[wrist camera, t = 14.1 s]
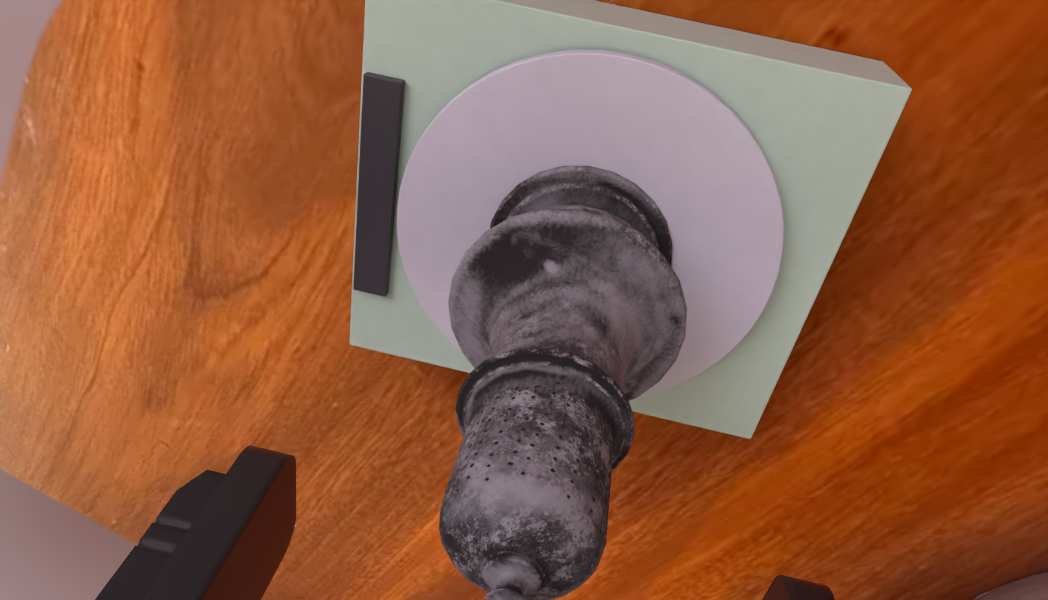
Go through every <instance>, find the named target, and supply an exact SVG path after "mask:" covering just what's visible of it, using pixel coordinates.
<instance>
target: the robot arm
mask: <svg viewBox="0 0 1048 600" xmlns="http://www.w3.org/2000/svg"><path fill="white" fill-rule="evenodd" d="M295 521H296V460H295V457H294V456H293V455H288V454H284V453H280V452H276V451H272V450H268V449H263V448H259V447H255V446H247V447H246V448H245V449H244V450H243V451H242V452H241V453H240V455H239V456H238V458H237V459H236V461H235V462H234V464H233V465H232V466H231V468H230V469H229V471H228V472H227V474H222V473H218V472H214V471H210V470H206V471H205V472H203V473H202V474H200V475H199V476H197V477H196V478H194V479H193V480H191V481H190V482H189V483H187V484H186V485H184V486H183V487H181V488H180V489H178V490H177V491H176V492H175V494H174V495H173V496H172V498H171V499H170V500H169V502H168V503H167V504H166V506H165V507H164V508H163V510H162V511H161V512H160V514H159V515H158V516H157V519H156V522H155V523H152V524H151V526H150V527H149V528H148V530H147V531H146V532H145V534H144V535H143V536H142V538H141V539H140V542H139V545H138V546H135V547H134V548H133V550H132V551H131V552H130V554H129V555H128V556H127V558H126V559H125V561H124V562H123V563H122V564H121V566H120V567H119V568H118V570H117V571H116V573H115V574H114V575H113V576H112V578H111V579H110V580H109V582H108V583H107V584H106V586H105V587H104V588H103V590H102V591H101V593H100V594H99V595H98V596H97V598H96V599H95V600H261V598H262V597H263V595H264V593H265V591H266V589H267V587H268V585H269V583H270V581H271V580H272V578H273V576H274V574H275V572H276V570H277V568H278V566H279V564H280V562H281V561H282V559H283V557H284V555H285V553H286V551H287V548H288V546H289V543H290V541H291V538H292V534H293V531H294V526H295ZM763 600H834V596H833V594H832V591H831V590H830V588H829V587H827V586H825V585H821V584H817V583H813V582H809V581H805V580H800V579H796V578H792V577H788V576H784V575H778V576H777V577H776V578H775V579H774V580H773V582H772V584H771V585H770V587H769V589H768V591H767V593H766V594H765V596H764V598H763Z"/></svg>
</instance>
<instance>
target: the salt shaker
mask: <svg viewBox="0 0 1048 600" xmlns="http://www.w3.org/2000/svg"><path fill="white" fill-rule="evenodd" d="M671 262H672V240H671V237H670V233H669V229H668V225H667V221H666V220H665V218H664V216H663V215H662V213H661V211H660V210H659V208H658V206H657V205H656V203H655V201H654V200H653V199H652V198H651V197H650V196H648V195H647V194H646V193H645V192H644V191H643V190H642V189H641V188H640V187H639V186H638V185H637V184H635V183H633V182H632V181H630V180H628V179H626V178H624V177H622V176H620V175H619V174H617V173H615V172H612V171H608V170H604V169H600V168H596V167H592V166H560V167H557V168H553V169H549V170H545V171H541V172H538V173H537V174H535V175H533V176H531V177H530V178H528V179H526V180H524V181H523V182H521V183H519V184H518V185H517V186H516V187H515V188H514V189H513V190H512V191H511V192H510V193H509V194H508V195H507V196H506V197H505V198H504V199H503V200H502V202H501V204H500V205H499V207H498V209H497V211H496V213H495V215H494V217H493V219H492V221H491V225H490V229H489V230H487V231H485V232H484V233H483V234H482V235H481V237H480V238H479V239H478V240H477V241H476V242H475V243H474V244H473V245H472V246H471V247H470V248H469V249H468V250H467V251H466V252H465V254H464V256H463V258H462V260H461V261H460V263H459V265H458V267H457V269H456V271H455V273H454V275H453V277H452V282H451V288H450V294H449V300H448V306H449V313H450V321H451V328H452V331H453V333H454V335H455V337H456V340H457V342H458V344H459V346H460V349H461V351H462V353H463V354H464V355H465V357H466V358H467V359H468V360H469V362H470V363H471V364H472V365H473V367H474V368H475V369H474V370H473V371H471V372H470V373H469V375H468V376H467V378H466V380H465V381H464V383H463V385H462V386H461V388H460V390H459V394H458V399H457V405H456V414H457V420H458V426H459V428H460V431H461V433H462V435H463V437H464V438H463V441H462V444H461V447H460V450H459V453H458V456H457V459H456V462H455V465H454V468H453V471H452V474H451V477H450V480H449V483H448V486H447V489H446V492H445V495H444V498H443V501H442V506H441V512H440V523H439V530H440V535H441V540H442V544H443V546H444V548H445V549H446V551H447V553H448V555H449V557H450V559H451V561H452V562H453V564H454V566H455V567H456V568H457V569H458V570H459V572H460V573H461V574H462V575H463V576H464V577H465V578H466V579H468V580H469V581H471V582H472V583H474V584H475V585H477V586H478V587H480V588H482V589H484V590H486V591H488V592H489V593H487V594H486V598H485V600H551V599H554V598H558V597H562V596H564V595H566V594H568V593H570V592H571V591H573V590H575V589H576V588H578V587H579V586H580V585H582V584H583V583H584V582H585V581H586V580H587V579H588V578H589V577H590V576H591V575H592V574H593V573H594V572H595V571H596V569H597V566H598V563H599V561H600V558H601V556H602V553H603V550H604V548H605V545H606V535H607V523H608V510H609V497H610V485H611V472H612V470H613V469H615V468H616V467H617V466H618V465H619V463H620V462H621V461H622V460H623V459H624V457H625V456H626V455H627V454H628V451H629V448H630V446H631V443H632V441H633V438H634V415H633V412H632V409H631V406H630V404H629V401H630V400H633V399H635V398H637V397H639V396H640V395H642V394H643V393H644V392H646V391H647V390H649V389H650V388H651V387H653V386H654V385H655V384H657V383H658V382H659V381H660V380H661V379H662V378H663V376H664V375H665V374H666V373H667V371H668V370H669V369H670V368H671V366H672V365H673V364H674V363H675V361H676V359H677V357H678V354H679V351H680V349H681V346H682V344H683V341H684V339H685V334H686V317H687V306H686V303H685V299H684V295H683V291H682V287H681V283H680V280H679V278H678V277H677V275H676V273H675V272H674V270H673V269H672V267H671Z"/></svg>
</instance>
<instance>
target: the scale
mask: <svg viewBox="0 0 1048 600" xmlns="http://www.w3.org/2000/svg"><path fill="white" fill-rule="evenodd" d="M911 91H912V88H911V87H909V86H908V85H907V84H906V83H905V82H904V81H903V80H902V79H901V78H900V77H899V76H898V75H897V74H896V73H895V72H894V71H893V70H892V69H891V68H890V67H889V66H887V65H886V64H885V63H884V62H883V61H879V60H874V59H870V58H865V57H860V56H855V55H851V54H846V53H841V52H837V51H832V50H827V49H822V48H818V47H813V46H808V45H803V44H799V43H794V42H789V41H784V40H780V39H775V38H770V37H766V36H761V35H756V34H751V33H747V32H742V31H737V30H732V29H728V28H723V27H718V26H714V25H709V24H704V23H699V22H695V21H690V20H685V19H680V18H676V17H671V16H666V15H662V14H657V13H652V12H647V11H643V10H638V9H633V8H628V7H624V6H619V5H614V4H609V3H605V2H600V1H595V0H365V20H364V42H363V63H362V85H361V106H360V127H359V149H358V170H357V192H356V213H355V235H354V256H353V278H352V299H351V321H350V342H349V344H350V345H353V346H357V347H362V348H366V349H370V350H374V351H379V352H383V353H387V354H391V355H396V356H400V357H404V358H408V359H413V360H417V361H421V362H425V363H430V364H434V365H438V366H442V367H446V368H451V369H455V370H459V371H463V372H468V373H470V372H471V371H473V370H474V369H475V368H474V367H473V365H472V364H471V363H470V362H469V360H468V359H467V358H466V357H465V355H464V354H463V353H462V351H461V349H460V346H459V344H458V342H457V340H456V337H455V335H454V333H453V331H452V328H451V321H450V313H449V306H448V300H449V294H450V288H451V282H452V277H453V275H454V273H455V271H456V269H457V267H458V265H459V263H460V261H461V260H462V258H463V256H464V254H465V252H466V251H467V250H468V249H469V248H470V247H471V246H472V245H473V244H474V243H475V242H476V241H477V240H478V239H479V238H480V237H481V235H482V234H483V233H484V232H485V231H487V230H489V229H490V225H491V221H492V219H493V217H494V215H495V213H496V211H497V209H498V207H499V205H500V204H501V202H502V200H503V199H504V198H505V197H506V196H507V195H508V194H509V193H510V192H511V191H512V190H513V189H514V188H515V187H516V186H517V185H518V184H519V183H521V182H523V181H524V180H526V179H528V178H530V177H531V176H533V175H535V174H537V173H538V172H541V171H545V170H549V169H553V168H557V167H560V166H592V167H596V168H600V169H604V170H608V171H612V172H615V173H617V174H619V175H620V176H622V177H624V178H626V179H628V180H630V181H632V182H633V183H635V184H637V185H638V186H639V187H640V188H641V189H642V190H643V191H644V192H645V193H646V194H647V195H648V196H650V197H651V198H652V199H653V200H654V201H655V203H656V205H657V206H658V208H659V210H660V211H661V213H662V215H663V216H664V218H665V220H666V221H667V225H668V229H669V233H670V237H671V240H672V262H671V267H672V269H673V270H674V272H675V273H676V275H677V277H678V278H679V280H680V283H681V287H682V291H683V295H684V299H685V303H686V306H687V317H686V334H685V339H684V341H683V344H682V346H681V349H680V351H679V354H678V357H677V359H676V361H675V363H674V364H673V365H672V366H671V368H670V369H669V370H668V371H667V373H666V374H665V375H664V376H663V378H662V379H661V380H660V381H659V382H658V383H657V384H655V385H654V386H653V387H651V388H650V389H649V390H647V391H646V392H644V393H643V394H642V395H640V396H639V397H637V398H635V399H633V400H630V401H629V404H630V406H631V409H632V411H633V412H637V413H641V414H646V415H650V416H654V417H658V418H663V419H667V420H671V421H675V422H679V423H684V424H688V425H692V426H696V427H701V428H705V429H709V430H713V431H718V432H722V433H726V434H730V435H735V436H739V437H743V438H747V439H751V437H752V435H753V433H754V431H755V429H756V427H757V424H758V422H759V420H760V418H761V416H762V414H763V411H764V409H765V407H766V405H767V403H768V401H769V398H770V396H771V394H772V392H773V390H774V388H775V385H776V383H777V381H778V379H779V377H780V375H781V372H782V370H783V368H784V366H785V364H786V362H787V359H788V357H789V355H790V353H791V351H792V349H793V346H794V344H795V342H796V340H797V338H798V336H799V334H800V331H801V329H802V327H803V325H804V323H805V321H806V318H807V316H808V314H809V312H810V310H811V308H812V305H813V303H814V301H815V299H816V297H817V295H818V292H819V290H820V288H821V286H822V284H823V282H824V279H825V277H826V275H827V273H828V271H829V269H830V266H831V264H832V262H833V260H834V258H835V256H836V253H837V251H838V249H839V247H840V245H841V243H842V241H843V238H844V236H845V234H846V232H847V230H848V228H849V225H850V223H851V221H852V219H853V217H854V215H855V212H856V210H857V208H858V206H859V204H860V202H861V199H862V197H863V195H864V193H865V191H866V189H867V186H868V184H869V182H870V180H871V178H872V176H873V173H874V171H875V169H876V167H877V165H878V163H879V160H880V158H881V156H882V154H883V152H884V150H885V147H886V145H887V143H888V141H889V139H890V137H891V135H892V132H893V130H894V128H895V126H896V124H897V122H898V119H899V117H900V115H901V113H902V111H903V109H904V106H905V104H906V102H907V100H908V98H909V96H910V93H911Z"/></svg>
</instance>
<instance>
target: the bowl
mask: <svg viewBox="0 0 1048 600" xmlns="http://www.w3.org/2000/svg"><path fill="white" fill-rule="evenodd" d="M974 600H1048V571H1047V572H1043V573H1038V574H1034V575H1031V576H1028V577H1025V578H1022V579H1019V580H1016V581H1013V582H1010V583H1007V584H1004V585H1001V586H999V587H997V588H995V589H992V590H990V591H988V592H986V593H984V594H982V595H980V596H979V597H977V598H975V599H974Z"/></svg>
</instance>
